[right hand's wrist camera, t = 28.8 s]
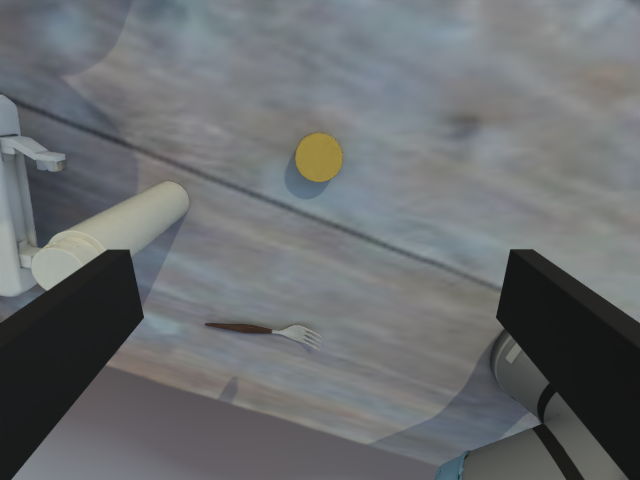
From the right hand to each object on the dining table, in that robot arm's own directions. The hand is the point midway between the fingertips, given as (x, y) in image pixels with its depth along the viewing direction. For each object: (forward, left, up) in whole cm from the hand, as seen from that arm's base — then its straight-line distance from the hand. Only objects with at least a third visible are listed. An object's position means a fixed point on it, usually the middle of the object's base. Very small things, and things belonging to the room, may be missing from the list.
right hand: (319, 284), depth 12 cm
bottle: (-3, +18, -30) cm, 35 cm away
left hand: (-2, +26, -23) cm, 35 cm away
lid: (0, 0, -28) cm, 28 cm away
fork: (-22, +10, -30) cm, 39 cm away
